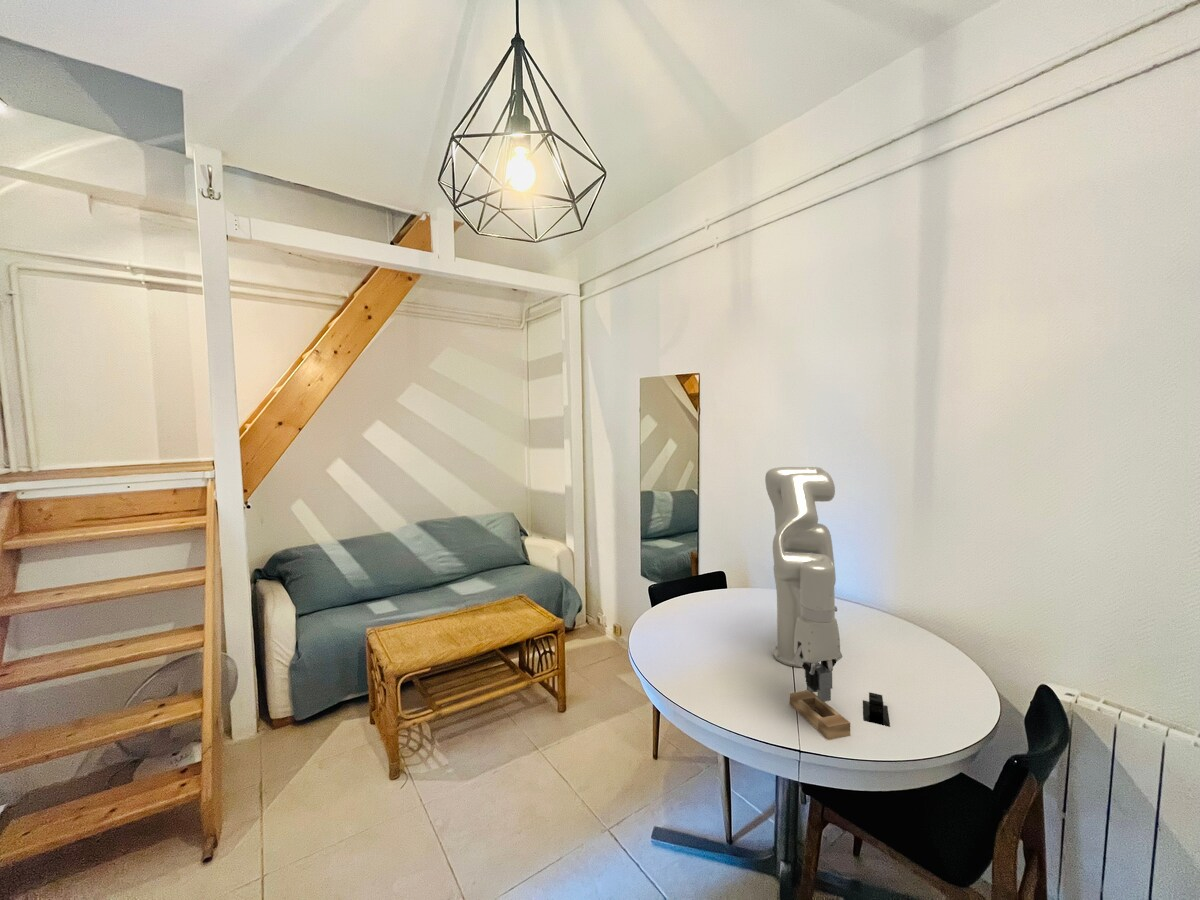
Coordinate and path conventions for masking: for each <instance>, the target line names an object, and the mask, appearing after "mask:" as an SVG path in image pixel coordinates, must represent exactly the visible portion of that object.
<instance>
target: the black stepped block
mask: <svg viewBox="0 0 1200 900" xmlns="http://www.w3.org/2000/svg"><path fill="white" fill-rule="evenodd" d="M862 716H863V717H862V719H863V721H864V722H867V723H871V724H874V725H875V724H877V725H879V726H884V725H885V727H888V728H890V727H891V723H890V715H889V709H888V706H887V705H884V699H883V694H879V693H873V692H868V700H862Z"/></svg>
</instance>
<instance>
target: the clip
mask: <svg viewBox="0 0 1200 900" xmlns="http://www.w3.org/2000/svg"><path fill="white" fill-rule="evenodd" d="M809 666H810V663H809ZM815 674H816V675H817V691H814V690H812V689H811V688H810V687H809V686H807V685H806V690H808V691H809V692H810V693H817V696H818V699H819V700H820V701H822V702H825V703H826V702H830V701H832V689H833V671H832V672H831V671H830V670H828V669H827V668H826V667H824V666H823V665H821V662H816V664H815ZM804 678H805V679H806V670H804Z"/></svg>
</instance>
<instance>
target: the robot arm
mask: <svg viewBox="0 0 1200 900" xmlns="http://www.w3.org/2000/svg"><path fill="white" fill-rule="evenodd" d="M764 480H765V489H766V492H767V495H768V497H769V500H770V502H771V504H772V507H773V512H774V523H775V524H774V526H775V535H774V537H773V539H772V559H773V576H774V581H775V582H774V583H775V588H776V589H775V590H776V608H777V609H776V621H777V622H776V623H777V625H776V627H777V629H776V631H777V634H776V635H777V637H776V638H777V645H776V646H775V647H773V648H772V657H773V658H774V659H775V660H776V661H778V662H780V663H781V664H783V665H787V666H790V667H797V668H802V669H803V670H804V671H805V670H806V678H805V684H806V687H807V686H809V687H810V688H811V689H812V690H814V691H817V675H816V674H815V664H816V662H818V663H820V664H821V665H823V666H824V667H826V668H827V669H828V670H830V671H831V672H832V673H833V671H834V666H835V665H836V663H837V662H838V661H839V660H841V659H842V658H843V654H842V652H841V638H840V630H839V625H838V621H837V619H836V616H835V615H836V613H835V612H838V607H837V606H836V605H835V594H836V593H835V585H836V581H837V578H836V565H835V558H834V549H833V541H832V534H831V532H830V530H829V528H828V527H827V526H826V524H825V525H824V524H822V523H818V522H819V517H818V511H817V506H816V502H822V503H823V502H830V501H833V499H834V497H835V495H836V485H835V483H834V480H833V478H832V476H831V474H830V473H829V472H828V471H826V470H825V469H823V468H821V467H817V466H784V467H783V466H781V467H774V468H771V469H769V470H768V471H766V473H765V477H764ZM809 663H810V666H809Z"/></svg>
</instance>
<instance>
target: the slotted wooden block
mask: <svg viewBox="0 0 1200 900" xmlns="http://www.w3.org/2000/svg"><path fill="white" fill-rule="evenodd" d="M789 705H790V707H791V708H793V709H794V710H795V711H796V712H797V713H799V714H800V716H802V717H803V719H805V720H806V721H807V722H808V723H809V724H810V725H812V726H813V727H814V728H815V729H816V730H817V731H818V732H819V733H820V734H821V735H822V736H823V737H824V738H825V739H826V740H829V741H830V740H834V739H838V738H844V737H849V736H851V722H850V721H849V720H847V718H845V717H844V716H843V715H842V714H840V713H839V712H838V711H836V710H835V709H834V708H833V707H832V706H830V705H829V704H828V703H827V702H826V701H825V702H822V701H820V700H819V699H818V694H817V693H815V692H813V693H810V692H809V691H808V690H807V689H806V690H800V691H795V692H790V693H789ZM815 710H816V711H815Z"/></svg>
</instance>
